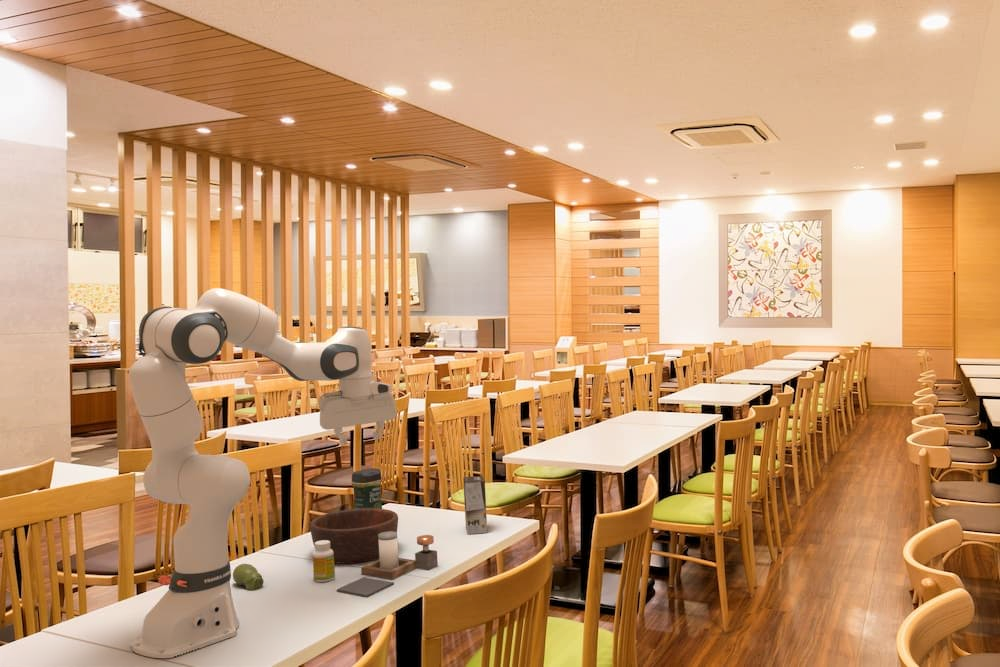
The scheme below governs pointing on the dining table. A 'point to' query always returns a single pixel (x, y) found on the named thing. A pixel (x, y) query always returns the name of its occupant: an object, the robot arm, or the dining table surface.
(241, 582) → the pear
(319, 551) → the supplement bottle
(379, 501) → the coffee jar
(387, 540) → the cylinder
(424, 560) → the square wooden frame
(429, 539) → the plunger
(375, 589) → the pad
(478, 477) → the coffee box
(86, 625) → the dining table surface
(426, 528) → the dining table surface
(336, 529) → the wooden bowl
